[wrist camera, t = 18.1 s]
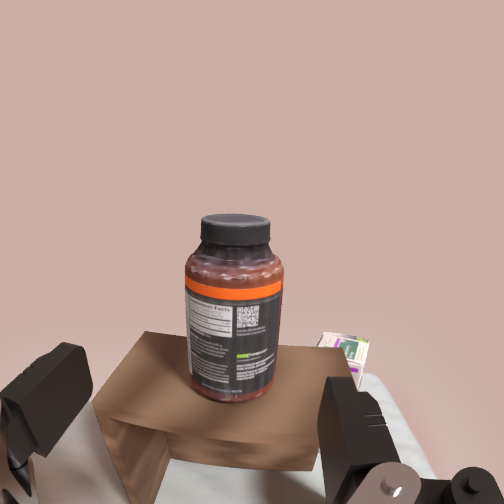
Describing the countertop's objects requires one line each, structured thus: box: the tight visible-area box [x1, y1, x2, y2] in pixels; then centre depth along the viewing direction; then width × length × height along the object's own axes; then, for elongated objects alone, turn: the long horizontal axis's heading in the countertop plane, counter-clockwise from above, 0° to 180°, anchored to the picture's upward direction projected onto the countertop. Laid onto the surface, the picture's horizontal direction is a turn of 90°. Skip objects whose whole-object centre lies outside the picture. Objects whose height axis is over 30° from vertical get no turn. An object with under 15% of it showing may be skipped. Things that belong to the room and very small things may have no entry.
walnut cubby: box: [92, 331, 358, 504], centre depth 23 cm, size 18×10×17 cm, turn 86°
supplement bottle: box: [185, 214, 284, 403], centre depth 19 cm, size 6×6×11 cm
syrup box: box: [315, 332, 369, 452], centre depth 33 cm, size 6×6×14 cm
